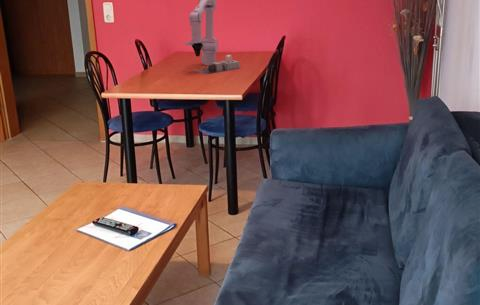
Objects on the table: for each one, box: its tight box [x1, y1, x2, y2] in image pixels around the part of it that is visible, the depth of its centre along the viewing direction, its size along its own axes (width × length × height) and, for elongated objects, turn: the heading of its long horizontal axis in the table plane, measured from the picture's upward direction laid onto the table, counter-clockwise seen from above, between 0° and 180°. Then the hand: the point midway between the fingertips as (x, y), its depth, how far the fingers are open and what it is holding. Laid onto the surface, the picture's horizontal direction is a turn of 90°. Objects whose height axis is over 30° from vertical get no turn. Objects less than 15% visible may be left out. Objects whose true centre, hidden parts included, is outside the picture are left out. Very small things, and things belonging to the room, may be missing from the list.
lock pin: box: [207, 65, 224, 72], centre depth 349 cm, size 3×11×4 cm, turn 127°
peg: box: [224, 54, 233, 63], centre depth 353 cm, size 4×4×8 cm
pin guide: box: [212, 61, 223, 71], centre depth 348 cm, size 6×4×4 cm
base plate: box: [192, 67, 242, 75], centre depth 351 cm, size 16×26×1 cm, turn 127°
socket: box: [218, 59, 240, 71], centre depth 353 cm, size 9×9×4 cm
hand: (197, 56), depth 343 cm, fingers closed
